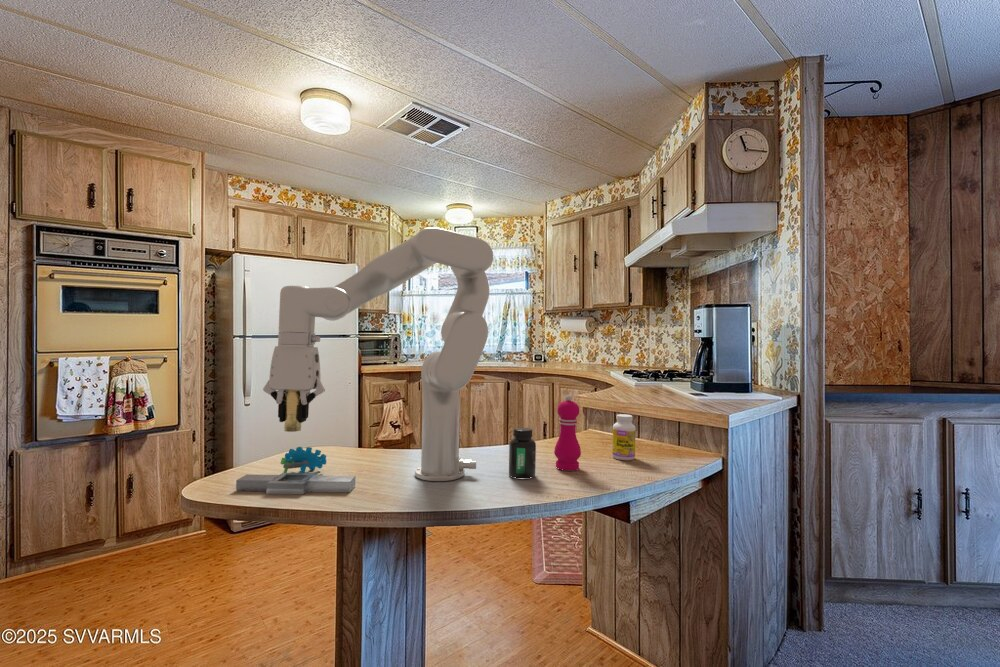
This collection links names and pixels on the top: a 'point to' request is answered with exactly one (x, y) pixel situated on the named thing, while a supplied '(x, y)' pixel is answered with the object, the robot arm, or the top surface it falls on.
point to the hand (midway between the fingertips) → (293, 420)
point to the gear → (303, 459)
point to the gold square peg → (292, 411)
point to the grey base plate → (295, 483)
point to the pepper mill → (567, 436)
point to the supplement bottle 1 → (522, 454)
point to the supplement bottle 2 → (624, 438)
